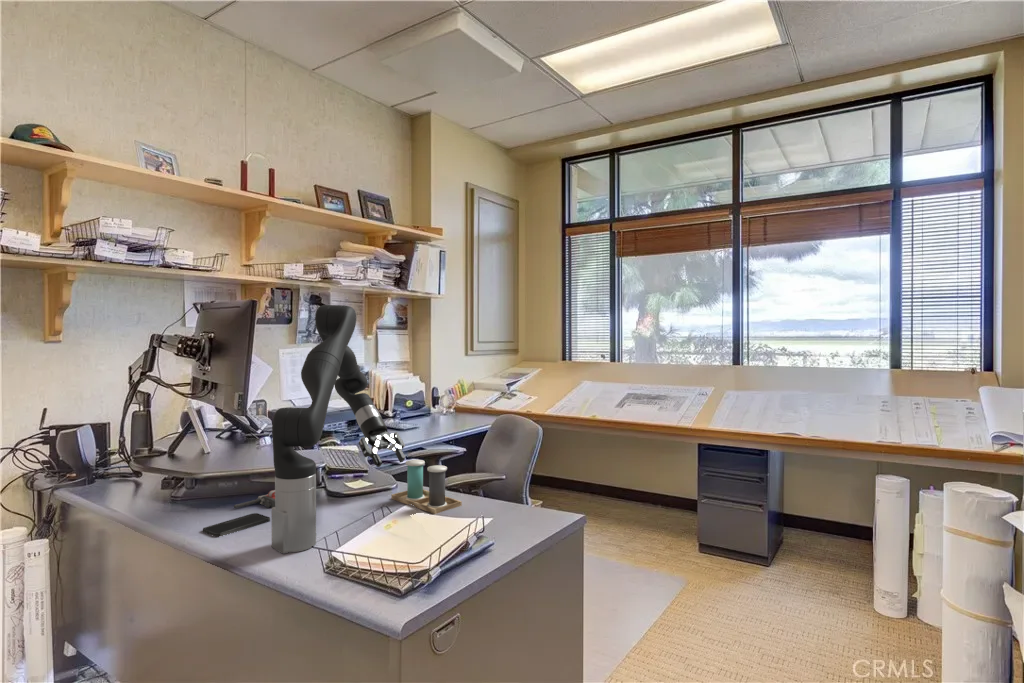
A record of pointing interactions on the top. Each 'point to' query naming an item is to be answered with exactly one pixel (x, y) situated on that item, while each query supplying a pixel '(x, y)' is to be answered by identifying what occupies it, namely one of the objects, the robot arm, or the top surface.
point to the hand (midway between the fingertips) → (391, 463)
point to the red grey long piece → (261, 500)
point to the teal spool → (415, 479)
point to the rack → (423, 502)
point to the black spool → (436, 486)
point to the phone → (236, 524)
